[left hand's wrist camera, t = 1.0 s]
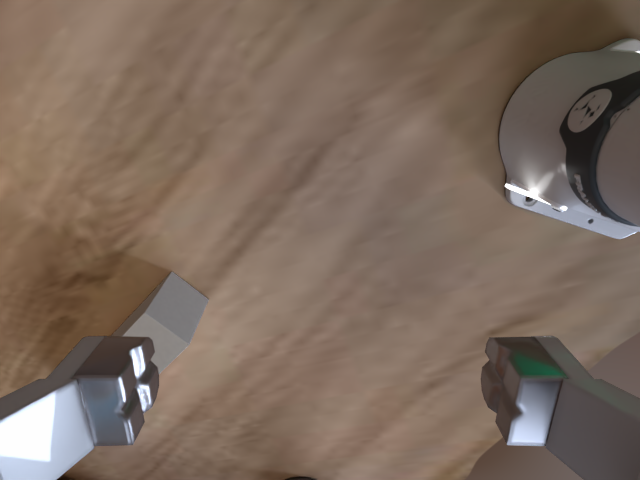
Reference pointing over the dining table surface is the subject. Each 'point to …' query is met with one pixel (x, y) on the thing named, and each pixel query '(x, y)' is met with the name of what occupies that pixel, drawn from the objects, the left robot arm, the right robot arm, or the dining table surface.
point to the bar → (166, 319)
